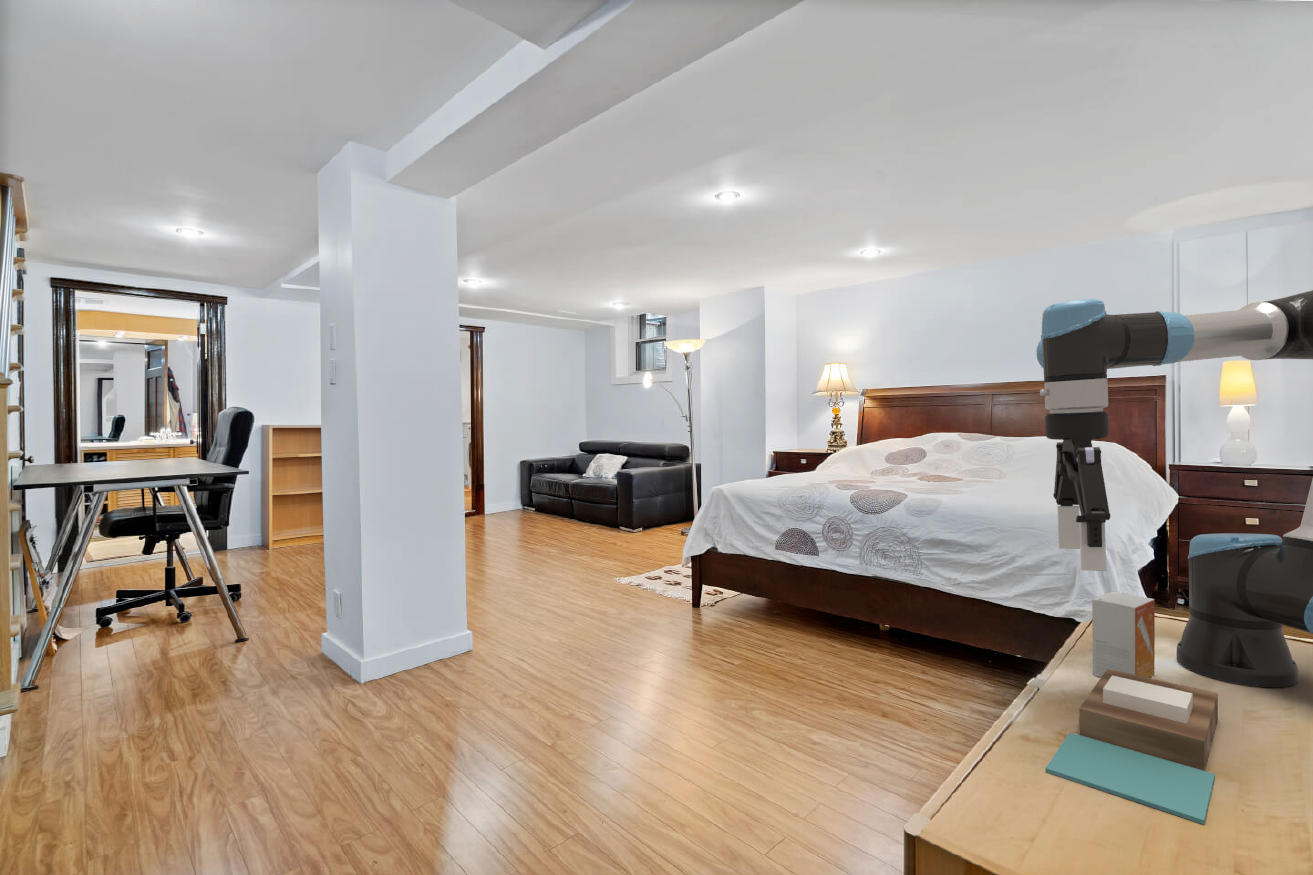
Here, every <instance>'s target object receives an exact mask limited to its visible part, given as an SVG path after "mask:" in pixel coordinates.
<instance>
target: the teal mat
mask: <svg viewBox="0 0 1313 875" xmlns="http://www.w3.org/2000/svg"><path fill="white" fill-rule="evenodd" d="M1044 770H1045V773H1048V774H1051V775H1053V776H1056V777H1060V778H1062V779H1066V780H1068V781H1072V782H1075V783H1078V784H1081V785H1084V786H1087V787H1090V788H1092V787H1094V788H1093V789H1095V788H1096V790H1098V789H1099V791H1102V792H1104V793H1108V794H1110V795H1113V796H1117V797H1120V798H1123V799H1126V800H1129V801H1132V802H1134V803H1138V804H1141V805H1144V806H1147V807H1150V808H1153V809H1156V810H1159V811H1162V812H1165V813H1168V814H1171V815H1174V816H1177V817H1180V818H1183V819H1185V820H1189V821H1192V822H1195V823H1198V824H1201V825H1205V823H1206V818H1207V814H1208V808H1209V805H1210V804H1209V803H1210V800H1211V796H1212V792H1213V786H1214V784H1215V783H1214V782H1215V778H1216V776H1215V773H1213V772H1210V771H1206V770H1205V771H1203V770H1200V769H1196V768H1193V767H1189V766H1186V765H1182V764H1179V763H1175V762H1172V761H1168V760H1165V759H1161V758H1158V757H1154V756H1151V755H1147V754H1144V753H1140V752H1137V751H1133V750H1130V749H1126V748H1123V747H1119V746H1116V745H1112V744H1109V743H1105V742H1102V741H1099V740H1095V739H1092V738H1088V737H1085V736H1081V735H1079V734H1077V733H1074V732H1069V733H1068V734H1067V736H1066V738H1065V739H1064V740H1063V742H1062V743H1061V745H1060V746H1059V748H1058V749H1057V750H1056V752H1055V753H1054V755H1053V756H1052V758H1051V759H1050V760H1049V762H1048V764H1047V765H1046V766H1045V768H1044Z"/></svg>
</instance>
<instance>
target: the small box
mask: <svg viewBox="0 0 1313 875" xmlns="http://www.w3.org/2000/svg"><path fill="white" fill-rule="evenodd" d="M1091 604H1092V605H1091V606H1092V609H1091V610H1092V612H1091V613H1092V620H1091V621H1092V623H1091V624H1092V627H1091V628H1092V672H1091V673H1092V675H1093V676H1096V677H1098V678H1099V677H1100V678H1101V677H1102V676H1103V674H1104V673H1105V671H1106V670H1107V669H1110V670H1114V671H1119V672H1124V673H1128V674H1133V675H1137V676H1142V677H1147V678H1152V677H1153V676H1155V665H1156V664H1155V645H1156V644H1155V641H1156V640H1155V639H1156V638H1155V633H1156V632H1155V629H1156V628H1155V625H1156V624H1155V623H1156V622H1155V620H1156V618H1155V613H1156V612H1155V609H1156V608H1155V607H1156V605H1155V604H1156V599H1154V598H1150V597H1145V596H1139V595H1135V594H1128V593H1124V592H1120V591H1114V590H1113V591H1111V592H1108V593H1105V594H1102V595H1100V596H1097V597H1096V598H1094V599H1092V603H1091Z"/></svg>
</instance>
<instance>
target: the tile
mask: <svg viewBox="0 0 1313 875" xmlns="http://www.w3.org/2000/svg"><path fill="white" fill-rule="evenodd" d="M1103 703H1106V704H1110V705H1114V706H1118V707H1122V708H1126V709H1130V710H1134V711H1138V712H1142V713H1146V714H1150V715H1154V716H1158V717H1162V718H1166V719H1170V720H1174V721H1178V722H1182V723H1186V724H1187V722H1188V720H1189V717H1190V714H1191V711H1192V708H1193V693H1189V692H1184V691H1180V690H1175V689H1171V688H1166V687H1162V686H1157V685H1153V684H1148V683H1144V682H1139V681H1135V680H1130V679H1126V678H1121V677H1117V676H1111V678H1110V679H1109V681H1108V682H1107V683H1106V685H1105V686H1104V688H1103Z"/></svg>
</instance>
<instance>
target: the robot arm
mask: <svg viewBox="0 0 1313 875" xmlns="http://www.w3.org/2000/svg"><path fill="white" fill-rule="evenodd" d="M1232 357H1242V358H1243V359H1246V360H1248V361H1249V360H1251V361H1263V360H1264V361H1265V360H1277V359H1278V360H1279V359H1280V360H1313V289H1312V290H1309V291H1304V292H1300V293H1297V294H1294V295H1289V296H1285V297H1280V298H1277V299H1272V300H1265V301H1255V302H1250V303H1249V304H1246V305H1244V306H1243V307H1241V308H1239V309H1237V310H1228V311H1217V312H1209V313H1208V312H1206V313H1199V314H1198V313H1195V314H1189V315H1188V314H1186V315H1184V314H1182V313H1179V312H1176V311H1166V312H1165V311H1160V310H1156V311H1152V312H1140V313H1139V312H1137V313H1121V314H1109V313H1107V311H1106V308H1105V303H1104V301H1103V300H1101V299H1095V298H1091V299H1090V298H1087V299H1076V300H1069V301H1063V302H1062V301H1061V302H1058V303H1054V304H1051V305H1048V306H1047V307H1046V308H1045V309H1043V312H1042V320H1041V335H1040V340H1039V341H1038V344H1037V346H1036V358H1037V362H1038V364H1039V365H1040V367H1041V368H1043V382H1044V386H1043V387H1044V389H1040V390H1039V396H1041V397H1044V409H1046V410H1048V411H1049V413H1046V416H1044V420H1045V423H1044V424H1045V426H1044V427H1045V429H1044V430H1045V437H1046V438H1047V439H1049V440H1056V441H1057V440H1058V441H1059V440H1062V441H1061V442H1056V444H1055V448H1056V463H1055V476H1054V487H1053V488H1054V490H1053V498H1054V499H1055V503H1056V505H1057V506H1056V508H1057V533H1058V535H1057V536H1058V548H1059V549H1063V550H1080V552H1079V553H1080V570H1082V571H1091V572H1092V571H1093V572H1107V552H1106V550H1107V549H1106V543H1107V542H1106V522H1107V521H1110V519H1111V513H1110V508H1109V502H1108V496H1107V490H1106V483H1105V477H1104V472H1103V467H1102V465H1103V464H1102V450H1101V448H1100V446H1097V447H1095V446H1094V447H1093V443H1092V440H1093V439H1095V440H1096V439H1097V440H1098V439H1104V438H1105V439H1106V438H1107V437H1108V436H1109V434H1110V430H1109V429H1110V428H1109V427H1110V424H1109V413H1107V411H1104V408H1107V407H1108V406H1109V388H1108V374H1107V373H1108V370H1110V369H1111V370H1112V369H1113V370H1114V369H1124V368H1133V367H1134V368H1135V367H1145V366H1153V367H1156V366H1157V367H1159V366H1162V365H1168V364H1175V363H1181V362H1191V361H1192V362H1193V361H1202V360H1203V361H1204V360H1211V359H1222V358H1224V359H1225V358H1232ZM1187 562H1188V563H1187V566H1188V567H1187V569H1188V572H1187V573H1188V601H1189V602H1188V606H1189V612H1188V613H1189V615H1188V616H1189V617H1188V620H1187V622H1186V625H1185V626H1184V629H1183V633H1182V635H1181V639H1180V641H1179V642H1178V643H1177V645H1176V661H1177V662H1178V664H1180V665H1181V666H1183V667H1185V668H1186V669H1188V670H1190V671H1192V672H1194V673H1196V674H1200V675H1203V676H1205V677H1208V678H1211V679H1214V680H1215V679H1216V680H1219V681H1224V682H1229V683H1234V684H1238V685H1244V686H1252V687H1258V688H1260V687H1261V688H1285V687H1291V686H1294V685H1297V683H1298V681H1299V672H1298V671H1299V669H1298V665H1297V663H1296V661H1295V660H1294V659H1293V657H1292V654H1291V651H1290V647H1289V645H1288V642H1287V640H1286V637H1285V634H1284V632H1283V625H1284V626H1286V627H1287V626H1288V627H1290V628H1293V629H1297V630H1299V631H1302V632H1306V633H1309V634H1313V478H1312V479H1311V484H1310V487H1309V490H1308V495H1307V499H1306V503H1305V507H1304V510H1303V515H1302V518H1301V523H1300V526H1298V527H1297V528H1296V529H1293V530H1291V531H1288V532H1287V533H1284V534H1283V536H1282V537H1281V536H1280V535H1276V534H1270V533H1269V534H1268V533H1243V532H1241V533H1237V532H1236V533H1235V532H1234V533H1227V532H1226V533H1225V532H1223V533H1205V534H1203V533H1202V534H1198V535H1195V536H1193V538H1191V539H1190V542H1189V552H1188V555H1187Z"/></svg>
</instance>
